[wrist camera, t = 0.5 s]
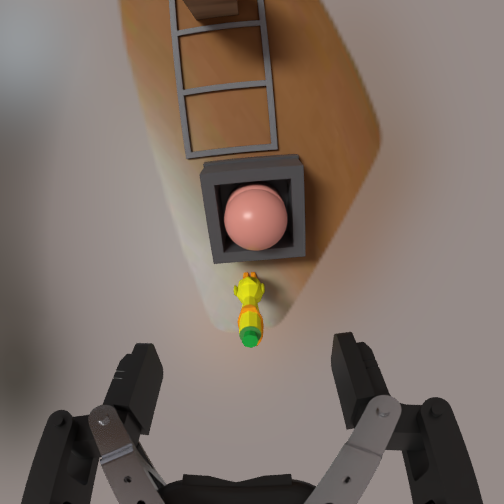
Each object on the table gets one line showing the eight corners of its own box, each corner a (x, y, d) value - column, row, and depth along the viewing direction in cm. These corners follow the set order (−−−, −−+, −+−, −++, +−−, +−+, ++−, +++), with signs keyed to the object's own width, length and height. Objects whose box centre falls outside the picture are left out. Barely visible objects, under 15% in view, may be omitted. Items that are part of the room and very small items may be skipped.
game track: (168, -18, 21) (167, -19, 20) (259, -31, 20) (259, -32, 20) (186, 158, 31) (186, 158, 31) (277, 148, 31) (277, 149, 30)
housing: (204, 162, 31) (197, 172, 27) (297, 153, 31) (305, 163, 26) (216, 244, 36) (212, 265, 32) (300, 237, 36) (307, 257, 31)
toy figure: (265, 299, 40) (271, 368, 29) (239, 301, 40) (236, 371, 30) (261, 255, 37) (266, 321, 26) (232, 258, 37) (226, 324, 26)
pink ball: (223, 183, 30) (217, 202, 25) (282, 178, 30) (289, 196, 24) (230, 236, 33) (226, 264, 27) (285, 232, 32) (292, 259, 27)
